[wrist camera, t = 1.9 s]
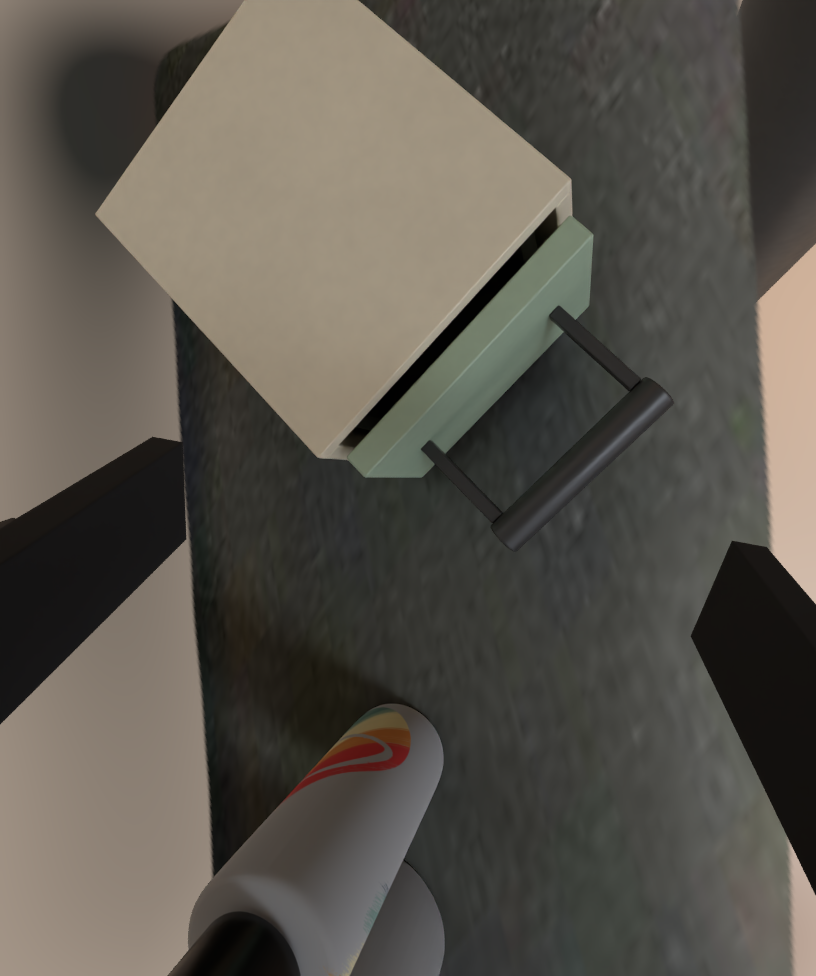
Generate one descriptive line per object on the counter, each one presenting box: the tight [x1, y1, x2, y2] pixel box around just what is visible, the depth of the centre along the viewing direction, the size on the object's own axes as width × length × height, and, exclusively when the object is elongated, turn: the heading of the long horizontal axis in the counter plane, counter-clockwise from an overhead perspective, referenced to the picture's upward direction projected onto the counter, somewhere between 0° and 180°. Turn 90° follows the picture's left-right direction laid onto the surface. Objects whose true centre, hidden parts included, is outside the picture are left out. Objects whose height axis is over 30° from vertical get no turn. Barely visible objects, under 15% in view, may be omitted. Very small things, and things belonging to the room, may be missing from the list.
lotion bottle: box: [168, 704, 443, 976], centre depth 24 cm, size 6×6×20 cm
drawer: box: [347, 216, 674, 552], centre depth 27 cm, size 21×12×9 cm, turn 45°
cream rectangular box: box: [95, 0, 572, 460], centre depth 28 cm, size 16×14×11 cm
